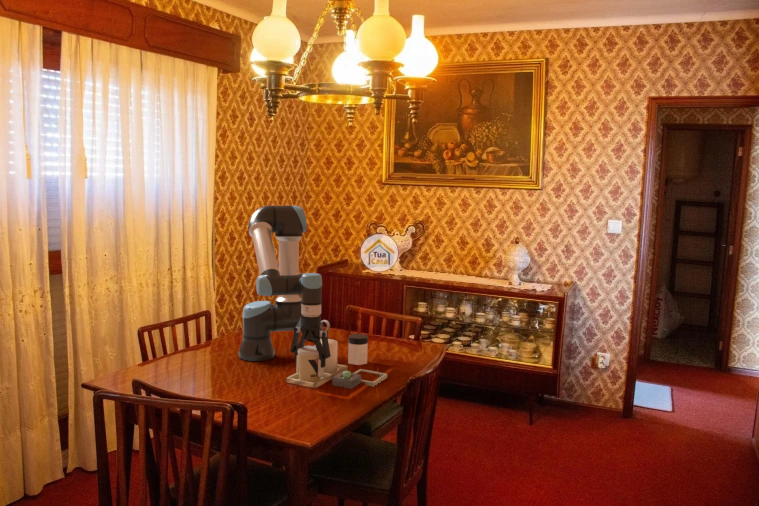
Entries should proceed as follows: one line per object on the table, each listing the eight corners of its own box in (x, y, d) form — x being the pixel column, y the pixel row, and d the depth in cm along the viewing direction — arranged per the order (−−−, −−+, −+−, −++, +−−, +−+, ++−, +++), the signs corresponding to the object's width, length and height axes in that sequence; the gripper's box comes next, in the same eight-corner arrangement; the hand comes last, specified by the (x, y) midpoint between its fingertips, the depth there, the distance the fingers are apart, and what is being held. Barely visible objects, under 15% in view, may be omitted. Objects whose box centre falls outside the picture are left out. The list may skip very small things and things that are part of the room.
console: (332, 387, 225) (332, 377, 224) (342, 381, 232) (342, 371, 231) (351, 391, 221) (351, 380, 221) (360, 385, 229) (361, 374, 228)
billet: (309, 372, 238) (310, 342, 236) (321, 366, 246) (322, 337, 244) (329, 376, 234) (330, 346, 233) (341, 370, 242) (341, 340, 241)
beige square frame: (345, 381, 232) (345, 377, 232) (359, 372, 243) (360, 368, 243) (374, 386, 227) (374, 382, 227) (387, 377, 238) (387, 373, 238)
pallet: (285, 384, 226) (285, 378, 226) (319, 366, 249) (319, 360, 248) (315, 390, 221) (315, 384, 220) (347, 372, 243) (347, 366, 243)
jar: (353, 368, 248) (354, 339, 247) (343, 362, 255) (344, 335, 254) (371, 365, 253) (372, 337, 252) (361, 360, 260) (362, 332, 259)
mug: (306, 336, 296) (307, 316, 294) (332, 338, 294) (332, 317, 293) (301, 341, 286) (302, 320, 285) (327, 343, 284) (328, 322, 283)
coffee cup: (311, 385, 223) (312, 353, 221) (291, 380, 228) (292, 349, 226) (326, 378, 231) (327, 348, 229) (307, 374, 235) (308, 344, 234)
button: (341, 382, 226) (341, 372, 225) (345, 380, 228) (345, 370, 228) (348, 384, 224) (348, 373, 224) (352, 381, 227) (352, 371, 227)
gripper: (281, 313, 227) (280, 371, 230) (331, 320, 218) (329, 381, 221) (292, 309, 234) (291, 366, 237) (341, 316, 225) (339, 375, 228)
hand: (309, 373), depth 229 cm, fingers closed on coffee cup, 9 cm apart
